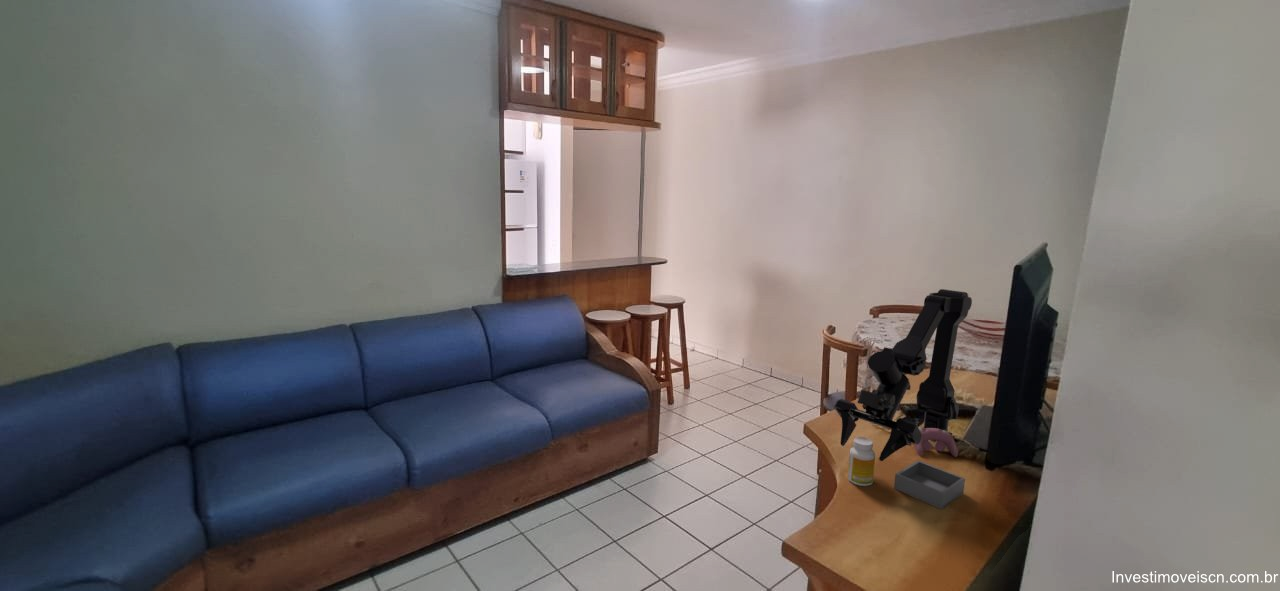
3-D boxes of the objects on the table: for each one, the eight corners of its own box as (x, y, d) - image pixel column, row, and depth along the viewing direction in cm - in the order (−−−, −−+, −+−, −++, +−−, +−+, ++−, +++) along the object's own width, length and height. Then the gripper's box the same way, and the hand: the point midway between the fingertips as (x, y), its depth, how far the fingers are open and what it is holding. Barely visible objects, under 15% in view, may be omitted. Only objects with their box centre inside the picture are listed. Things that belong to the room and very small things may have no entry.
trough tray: (916, 474, 126) (918, 460, 126) (963, 493, 118) (965, 478, 118) (893, 488, 120) (895, 473, 120) (941, 509, 112) (943, 494, 112)
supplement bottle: (878, 485, 122) (881, 445, 120) (856, 488, 120) (859, 447, 119) (863, 473, 127) (866, 434, 125) (842, 475, 126) (845, 436, 124)
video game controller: (951, 457, 138) (948, 428, 140) (960, 457, 133) (957, 428, 135) (911, 455, 139) (908, 427, 141) (918, 455, 134) (915, 426, 136)
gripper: (840, 366, 129) (811, 421, 124) (921, 388, 115) (891, 451, 110) (855, 390, 135) (828, 444, 131) (933, 413, 121) (905, 475, 116)
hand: (860, 452), depth 122 cm, fingers open, 9 cm apart
